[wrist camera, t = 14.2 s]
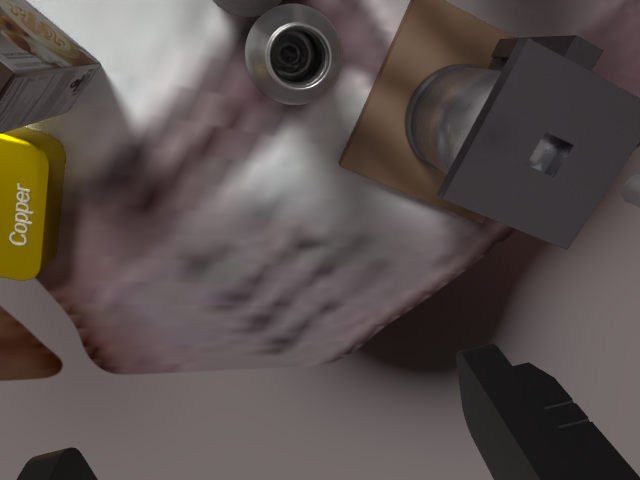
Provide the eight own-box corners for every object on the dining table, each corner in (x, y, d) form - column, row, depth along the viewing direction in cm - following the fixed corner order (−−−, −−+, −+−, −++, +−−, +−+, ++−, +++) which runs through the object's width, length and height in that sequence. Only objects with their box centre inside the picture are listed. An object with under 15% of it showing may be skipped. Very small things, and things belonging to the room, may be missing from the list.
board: (415, -11, 42) (420, -13, 41) (564, 68, 47) (573, 69, 45) (338, 163, 48) (340, 166, 47) (477, 219, 53) (482, 224, 51)
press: (445, 20, 42) (548, 2, 27) (537, 68, 45) (681, 78, 29) (384, 148, 47) (442, 198, 31) (472, 185, 49) (567, 250, 33)
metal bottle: (320, 90, 45) (354, 119, 27) (252, 86, 44) (239, 113, 26) (325, 20, 43) (365, -2, 24) (253, 14, 42) (239, -13, 24)
